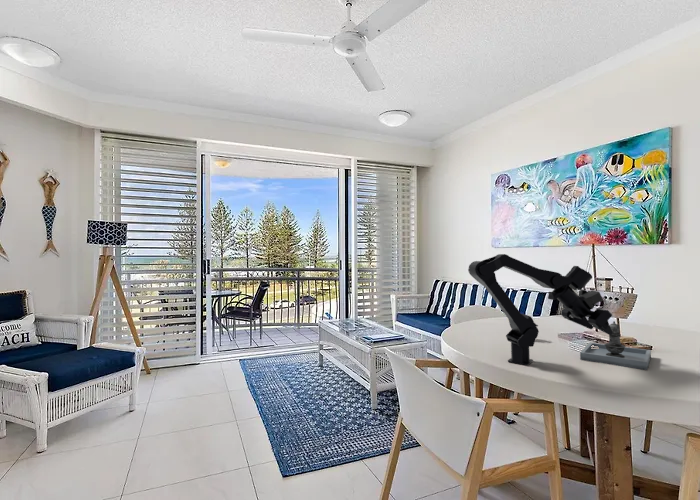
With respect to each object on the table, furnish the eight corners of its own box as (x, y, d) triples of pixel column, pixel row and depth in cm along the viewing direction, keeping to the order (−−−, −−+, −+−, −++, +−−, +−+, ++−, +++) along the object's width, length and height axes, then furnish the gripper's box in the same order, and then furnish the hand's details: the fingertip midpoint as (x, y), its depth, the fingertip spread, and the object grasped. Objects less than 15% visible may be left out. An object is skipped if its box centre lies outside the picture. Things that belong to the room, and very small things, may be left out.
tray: (647, 370, 115) (646, 362, 115) (580, 359, 127) (580, 352, 127) (650, 357, 128) (650, 350, 128) (590, 349, 140) (589, 342, 140)
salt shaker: (611, 352, 131) (610, 318, 132) (629, 356, 126) (628, 321, 126) (601, 354, 129) (600, 320, 129) (619, 358, 124) (618, 323, 124)
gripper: (606, 285, 118) (639, 319, 118) (568, 281, 137) (597, 310, 137) (582, 310, 117) (616, 344, 118) (548, 302, 136) (577, 331, 136)
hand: (601, 331), depth 127 cm, fingers open, 9 cm apart
